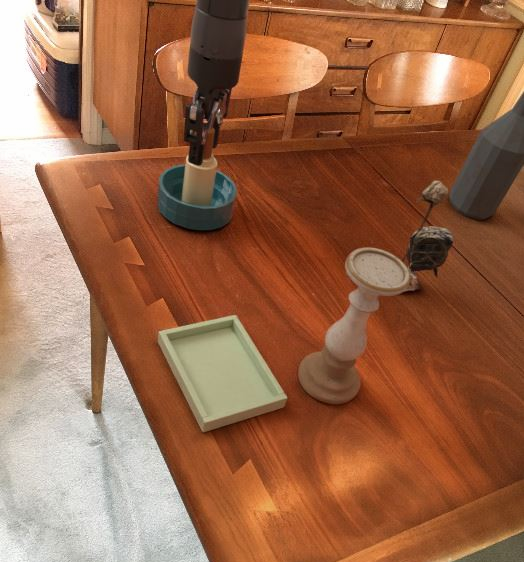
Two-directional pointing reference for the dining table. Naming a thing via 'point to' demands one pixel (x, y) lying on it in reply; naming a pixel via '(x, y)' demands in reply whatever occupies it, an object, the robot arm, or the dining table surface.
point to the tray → (220, 372)
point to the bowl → (194, 214)
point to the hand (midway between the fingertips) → (202, 154)
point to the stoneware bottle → (200, 177)
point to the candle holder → (352, 326)
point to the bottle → (491, 166)
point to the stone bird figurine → (428, 239)
